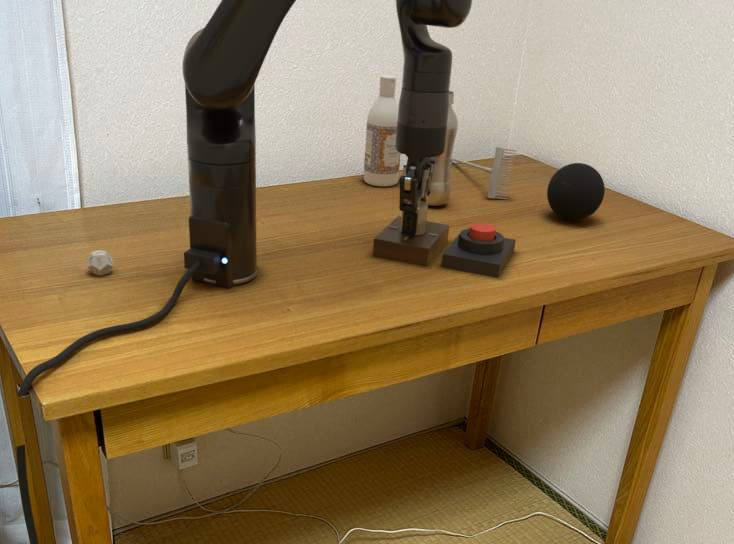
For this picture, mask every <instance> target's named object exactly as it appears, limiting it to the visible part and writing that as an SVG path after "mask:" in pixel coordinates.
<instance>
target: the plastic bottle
mask: <svg viewBox="0 0 734 544" xmlns="http://www.w3.org/2000/svg"><path fill="white" fill-rule="evenodd" d="M454 99H455V92H454V91H453V90H449V114H448V123H447V132H446V142H445V150H444V153H443V154H442V155H440V156H437V157H431V158H435V164H434V169H433V175H432V182H431V188H430V194H429V196H427V198H428V199H427V202H426V203H427V204H428V206H433V207H434V206H435V207H436V206H437V207H438V206H443V205H446V204H447V202H448V201H449V200H450V198H451V194H452V182H451V181H452V180H451V167H452V166H451V164H452V160H451V158H452V157H453V152H454V146H455V142H456V137H457V134H458V130H459V129H458V128H459V121H458V117H457V114H456V113H455V111H454V108H453V105H454V103H455V101H454Z"/></svg>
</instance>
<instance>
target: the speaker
mask: <svg viewBox="0 0 734 544" xmlns="http://www.w3.org/2000/svg"><path fill="white" fill-rule="evenodd" d="M546 198H547V202H548V205H549V207H550V208H551V210H552V211H553V212H554V213H555V214H556V215H557V216H558V217H560V218H562V219H564V220H568V221H580V220H584V219H587V218H589V217H590V216H592V215H594V213H596V212H597V211H598V209H599V208H600V207H601V205H602V203H603V200H604V198H605V182H604V178H603V177H602V175H601V174H600V172H599V171H598V170H597V169H596V168H594V167H593V166H592V165H589V164H586V163H583V162H573V163H572V162H571V163H569V164H566V165H564V166H562V167H560V168H559V169H558V170H556V172H555V173H554V174H553V175H552V176H551V178H550V180H549V182H548V184H547V190H546Z"/></svg>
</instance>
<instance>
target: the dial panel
mask: <svg viewBox="0 0 734 544" xmlns="http://www.w3.org/2000/svg"><path fill="white" fill-rule="evenodd" d="M401 218H402V216H399V215H398V216H396V217H395V218H394V219H393V220H392V221H391V222H390V223H389V224H388V225H387V226H385V227H384V228H383V229H382V230H381V231H380V232H379V233H378V234H377V235H376V236H375V237H374V238H373V247H372V248H373V249H372V257H375V258H381V259H386V260H391V261H396V262H400V263H401V262H402V263H406V264H410V265H411V264H412V265H416V266H420V267H421V266H422V267H426V268H427V267H428V266H429V265H430V264H431V263H432V261H433V260H434V259H435V258H436V257H437V256H438V254H439V253H440V252H441V251H442V250H443V249H444V247H445V246H446V245H447V244H448V242H449V241H448V240H449V235H450V233H449V232H450V224H445V223H439V222H433V221H428V220H426V230H425V233H424V234H422V235H414V236H408V235H403V234H402V232H401V230H400V229H401Z"/></svg>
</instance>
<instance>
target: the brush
mask: <svg viewBox="0 0 734 544" xmlns="http://www.w3.org/2000/svg"><path fill="white" fill-rule="evenodd" d="M515 152H518V150H515V149H508V148H504V147H500V146H495V152H494V157H493V163H492V167H486V166H482V165H479V164H475V163H473V162H469V161H466V160H462V159H459V158H456V157H453V156H452V158H451V162H452V161H453V162H456V163H459V164H462V165H465V166H469V167H472V168H475V169H478V170H481V171H483V172H485V173H489V174H490V180H489V185H488V190H487V196H486V198H488V199H500V200H508V199H509V198H507V197H509V195H508V194H510V193H509V191H510V190H509V189H510V186H511V184H510V183H511V181H512V177H513V176H512V175H513V172H514V170H513V167H514V166H515V165H514V164H515V163H516V162H515V161H516V155H517V153H515Z"/></svg>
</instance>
